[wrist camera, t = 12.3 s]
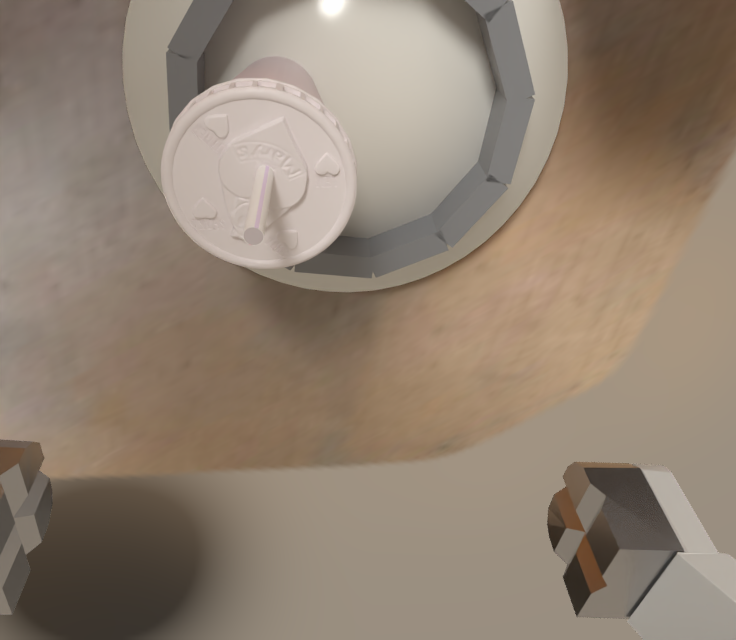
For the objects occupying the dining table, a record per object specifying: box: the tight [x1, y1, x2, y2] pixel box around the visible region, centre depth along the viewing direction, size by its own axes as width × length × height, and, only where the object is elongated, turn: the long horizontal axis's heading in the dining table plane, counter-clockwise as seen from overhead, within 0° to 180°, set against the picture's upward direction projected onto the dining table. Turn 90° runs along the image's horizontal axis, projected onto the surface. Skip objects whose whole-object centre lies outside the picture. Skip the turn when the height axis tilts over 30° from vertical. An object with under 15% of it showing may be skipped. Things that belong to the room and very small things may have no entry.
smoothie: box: [161, 56, 357, 269], centre depth 22 cm, size 6×6×14 cm
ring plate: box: [122, 0, 568, 292], centre depth 28 cm, size 20×20×3 cm
